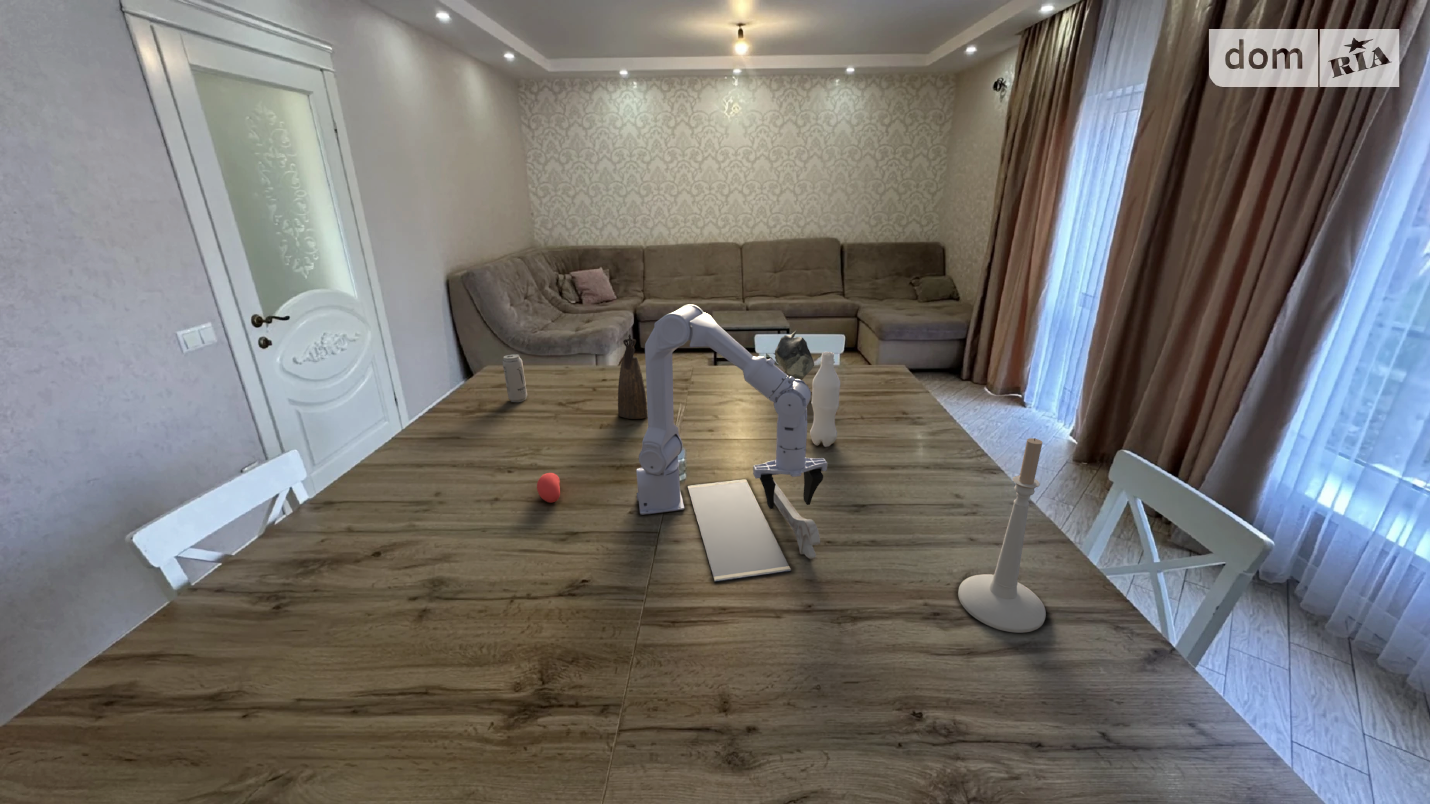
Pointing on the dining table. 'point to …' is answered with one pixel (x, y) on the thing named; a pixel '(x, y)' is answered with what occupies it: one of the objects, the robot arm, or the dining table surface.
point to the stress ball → (549, 487)
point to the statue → (631, 385)
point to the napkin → (735, 531)
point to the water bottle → (825, 401)
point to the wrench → (798, 524)
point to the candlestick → (1009, 566)
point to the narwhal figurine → (794, 356)
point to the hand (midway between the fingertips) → (788, 504)
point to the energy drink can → (514, 378)
